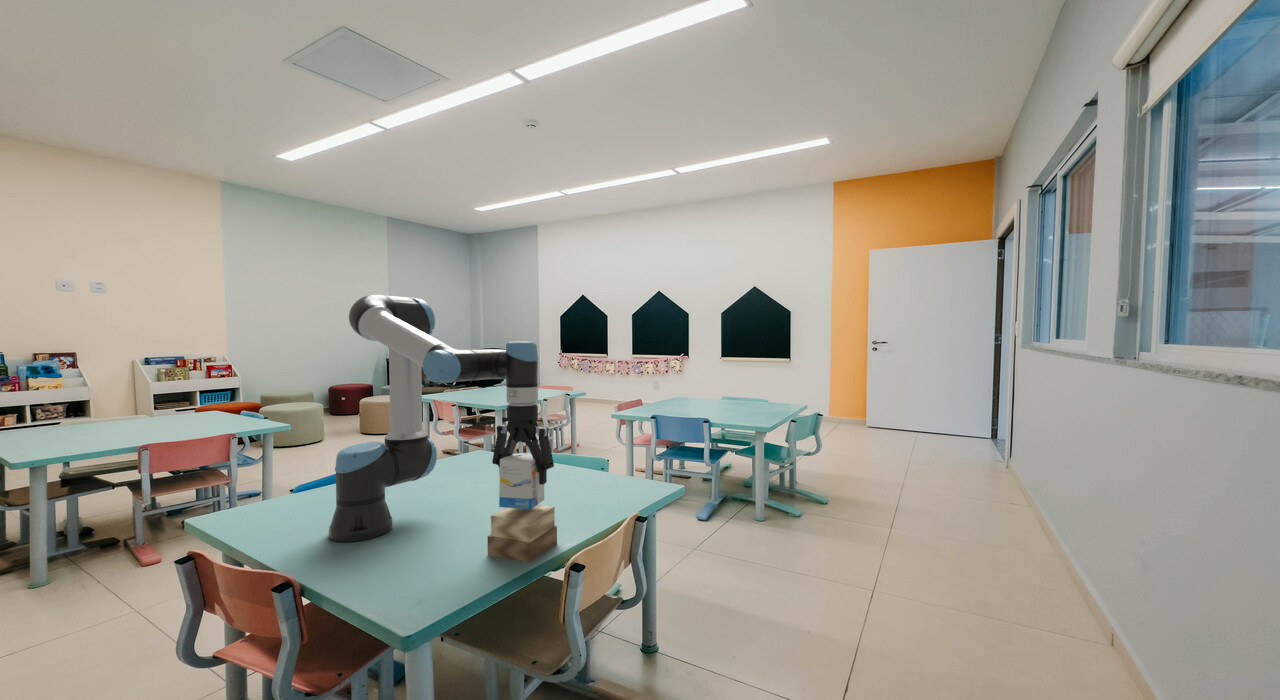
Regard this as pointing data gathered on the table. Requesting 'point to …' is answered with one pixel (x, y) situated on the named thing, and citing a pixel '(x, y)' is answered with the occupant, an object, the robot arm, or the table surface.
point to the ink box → (518, 482)
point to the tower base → (522, 546)
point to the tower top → (522, 523)
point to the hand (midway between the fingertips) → (522, 495)
